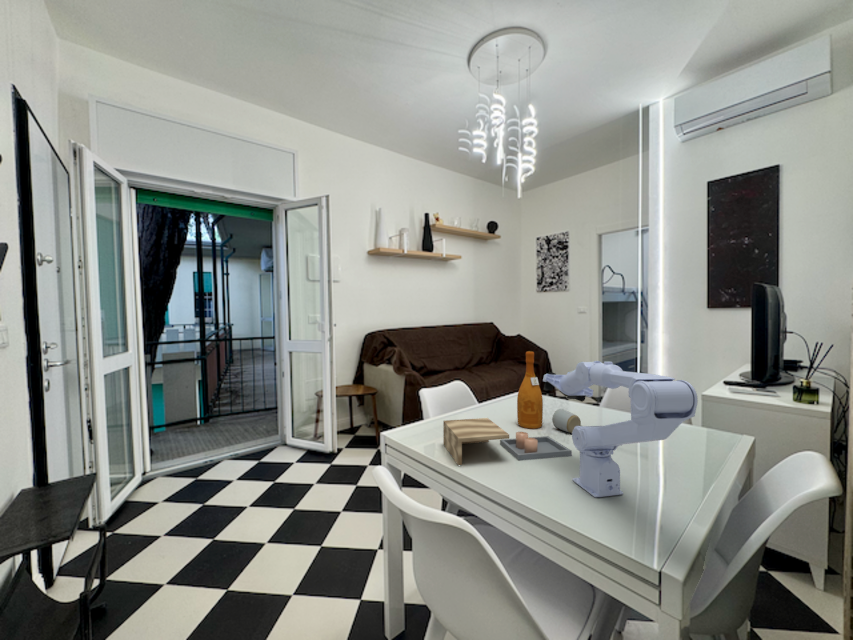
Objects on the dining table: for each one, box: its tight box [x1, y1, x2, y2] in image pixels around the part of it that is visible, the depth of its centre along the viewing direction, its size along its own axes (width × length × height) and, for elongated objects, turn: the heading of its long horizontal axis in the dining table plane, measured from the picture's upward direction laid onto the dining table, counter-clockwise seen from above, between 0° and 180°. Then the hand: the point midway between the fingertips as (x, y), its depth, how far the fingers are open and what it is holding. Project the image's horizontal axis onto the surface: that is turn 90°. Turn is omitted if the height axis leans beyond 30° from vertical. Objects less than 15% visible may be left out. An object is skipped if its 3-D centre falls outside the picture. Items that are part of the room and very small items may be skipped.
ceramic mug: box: [551, 408, 582, 434], centre depth 137 cm, size 11×8×8 cm
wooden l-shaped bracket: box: [442, 417, 510, 466], centre depth 115 cm, size 18×16×8 cm
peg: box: [515, 431, 529, 449], centre depth 119 cm, size 4×4×4 cm
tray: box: [499, 435, 573, 461], centre depth 117 cm, size 14×18×2 cm
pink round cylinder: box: [524, 437, 538, 453], centre depth 114 cm, size 4×4×4 cm
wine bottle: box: [516, 350, 544, 430], centre depth 143 cm, size 10×10×30 cm
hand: (556, 391), depth 114 cm, fingers open, 7 cm apart
